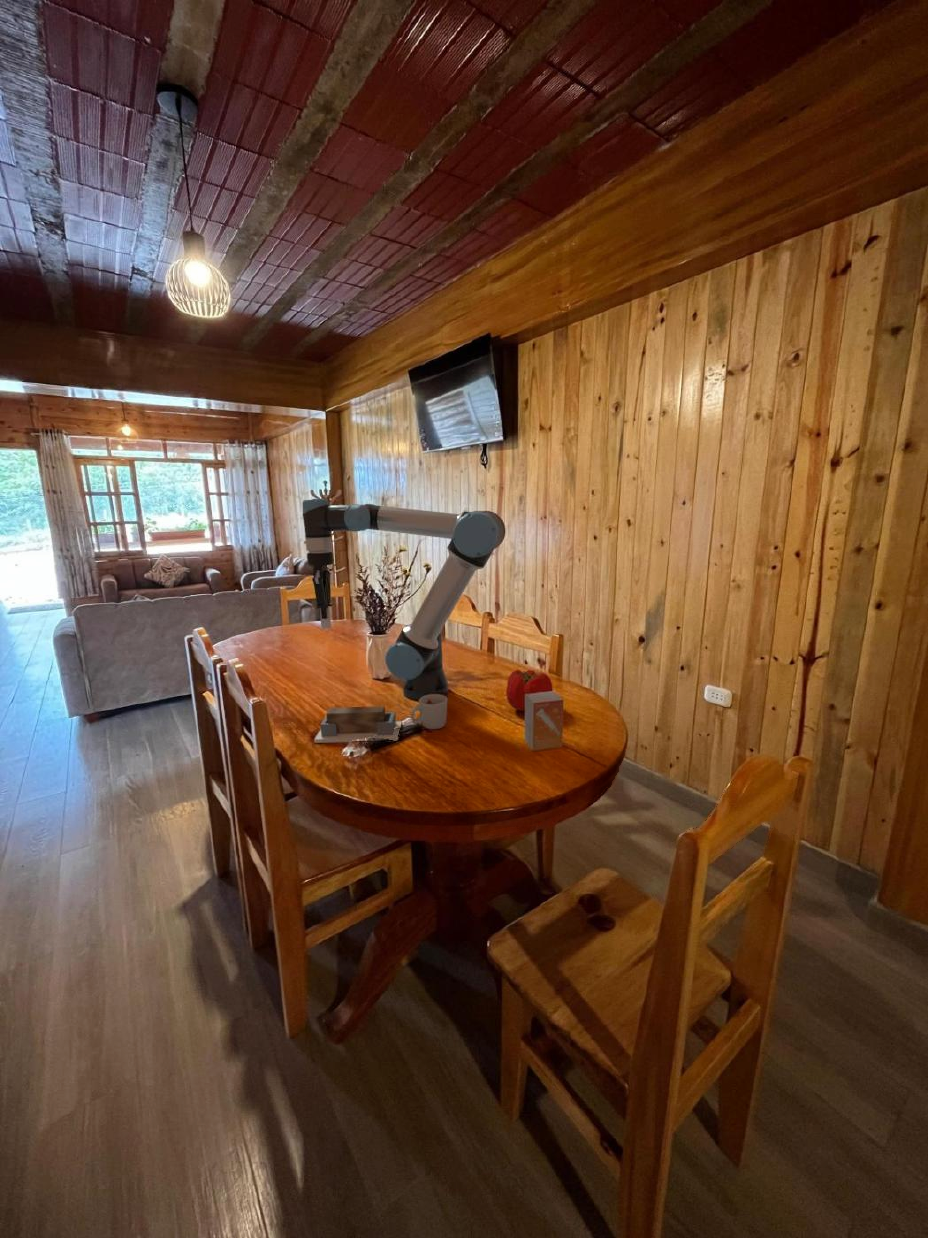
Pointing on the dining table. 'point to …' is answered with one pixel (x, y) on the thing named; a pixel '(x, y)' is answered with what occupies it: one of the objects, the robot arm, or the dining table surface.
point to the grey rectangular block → (356, 719)
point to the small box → (543, 720)
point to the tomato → (525, 686)
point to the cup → (431, 711)
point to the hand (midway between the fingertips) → (326, 628)
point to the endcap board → (383, 728)
